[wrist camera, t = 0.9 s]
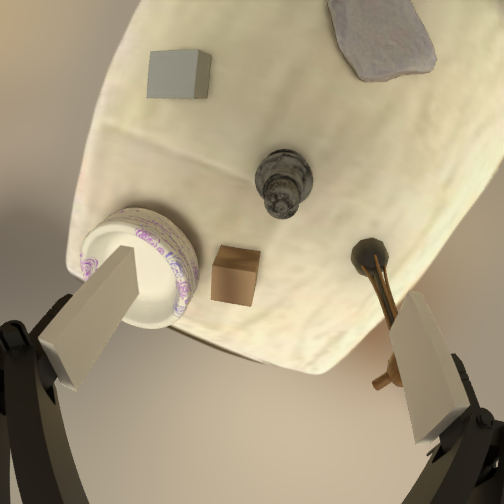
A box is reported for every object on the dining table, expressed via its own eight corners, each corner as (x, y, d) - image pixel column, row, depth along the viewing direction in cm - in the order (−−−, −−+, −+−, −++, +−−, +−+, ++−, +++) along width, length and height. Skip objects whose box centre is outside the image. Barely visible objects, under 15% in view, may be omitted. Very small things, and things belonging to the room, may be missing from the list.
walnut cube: (260, 251, 38) (255, 272, 34) (255, 283, 41) (251, 306, 37) (221, 245, 39) (212, 265, 34) (219, 277, 41) (210, 299, 37)
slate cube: (211, 55, 27) (198, 49, 23) (207, 97, 30) (193, 98, 26) (169, 56, 28) (150, 51, 23) (165, 96, 30) (146, 98, 26)
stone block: (356, 89, 29) (435, 71, 24) (356, 89, 25) (446, 69, 20) (316, 1, 25) (394, -18, 20) (309, -11, 21) (398, -32, 16)
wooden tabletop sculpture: (362, 282, 39) (393, 411, 21) (338, 263, 38) (361, 395, 20) (393, 252, 36) (449, 374, 19) (370, 230, 35) (423, 354, 18)
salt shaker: (292, 136, 31) (292, 157, 21) (321, 180, 33) (333, 222, 22) (248, 165, 33) (226, 199, 23) (277, 206, 35) (270, 257, 25)
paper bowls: (90, 234, 41) (60, 261, 34) (157, 175, 35) (126, 197, 28) (153, 308, 46) (134, 343, 39) (229, 268, 40) (215, 306, 33)
